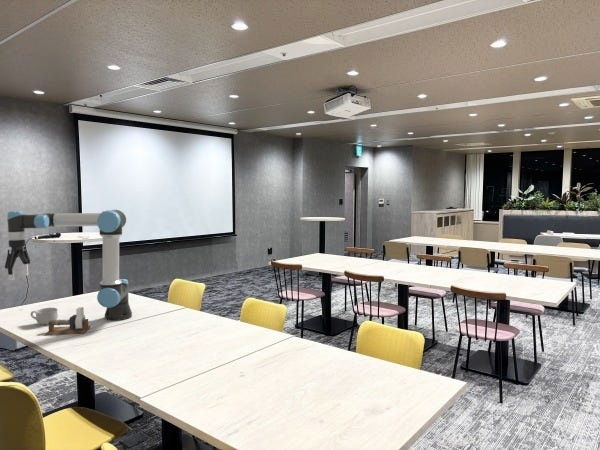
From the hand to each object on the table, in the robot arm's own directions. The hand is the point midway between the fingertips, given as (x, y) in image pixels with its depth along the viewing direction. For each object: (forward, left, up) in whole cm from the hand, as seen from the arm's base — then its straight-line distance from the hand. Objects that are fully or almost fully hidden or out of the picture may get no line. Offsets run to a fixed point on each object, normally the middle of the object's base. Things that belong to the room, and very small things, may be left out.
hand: (18, 277), depth 235 cm
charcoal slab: (-31, +10, -26) cm, 42 cm away
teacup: (-10, -6, -28) cm, 30 cm away
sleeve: (-35, +10, -25) cm, 44 cm away
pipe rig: (-29, +10, -28) cm, 41 cm away
